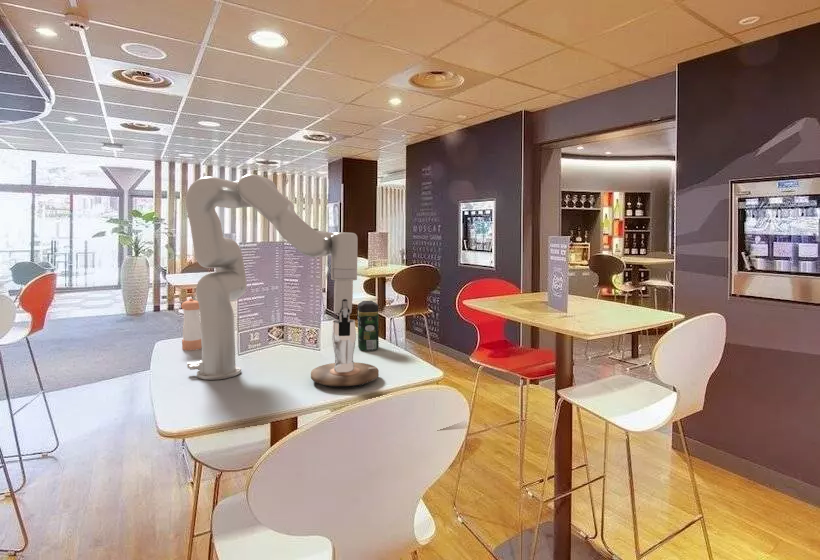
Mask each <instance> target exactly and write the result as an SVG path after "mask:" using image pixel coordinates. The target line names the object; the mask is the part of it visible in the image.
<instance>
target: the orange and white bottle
mask: <svg viewBox="0 0 820 560" xmlns="http://www.w3.org/2000/svg"><path fill="white" fill-rule="evenodd" d="M180 307H181V309H182V310H183V324H182V325H183V327H182V340H181V344H182V346H181V349H182V350H183V349H184V350H183V351H197V350H196V349H198V350H202V349H201V348H202V344H201V319H200V308H199V303H198V300H197V299H196V300H194V299H193V298H189V299H188V300H185V301H183V302H182V303H181V306H180Z"/></svg>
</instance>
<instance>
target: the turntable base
mask: <svg viewBox="0 0 820 560" xmlns="http://www.w3.org/2000/svg"><path fill="white" fill-rule="evenodd" d="M366 384H367V383H364V384H359V385H352V386H330V385H324V384H322V385H324V386H326V387H329V388H335V389H350V388H357V387H361V386H364V385H366Z"/></svg>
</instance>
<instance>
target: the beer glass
mask: <svg viewBox="0 0 820 560" xmlns="http://www.w3.org/2000/svg"><path fill="white" fill-rule="evenodd" d="M339 322H340V319H339V320H337V319H335V320H332V327H331V329H332V330H331V339H332V340H331V342H332V347H333V353H334V357H335V358H334V363H335V367H334V372H336V373H340V374H346V373H351V372H354V370H355V368H354V363H353V362H354V354H355V348H356V346H355V345H356V339H357V332H356V331H357V329H356V320H355V319H350V336H339Z"/></svg>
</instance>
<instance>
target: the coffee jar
mask: <svg viewBox="0 0 820 560" xmlns="http://www.w3.org/2000/svg"><path fill="white" fill-rule="evenodd" d="M379 338H380V337H379V305H378V303H377V302H375V301H373V300H361V301H360V302H359V303H358V304H357V347H358V349H359V351H363V352H364V351H365V352H372V351H376V350H378V349H379V346H380V345H379V341H380V340H379Z"/></svg>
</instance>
